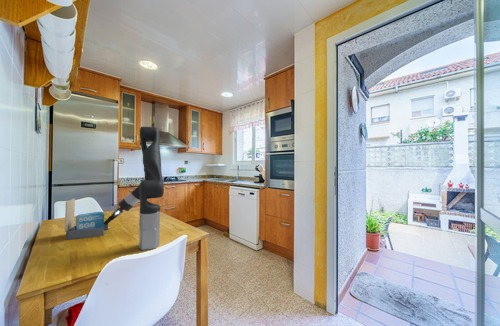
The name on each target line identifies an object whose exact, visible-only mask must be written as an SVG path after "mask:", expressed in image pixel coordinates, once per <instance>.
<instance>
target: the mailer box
mask: <svg viewBox="0 0 500 326" xmlns="http://www.w3.org/2000/svg"><path fill="white" fill-rule="evenodd" d="M75 201H76V198H72V199H69V200H66V201H65V214H64V215H65V216H64V217H65V219H64V220H65V221H64V224H65V225H64V232H66V233H65V241H69V240H77V239H85V238H92V237H94V238H95V237H101V236H104V235H105V232H104V231H109V223H108V224H107V225H105V224H104V227H102V228H92V229H83V230H76V225H75V209H76V208H75V207H76V206H75V205H76V204H75V203H76V202H75Z"/></svg>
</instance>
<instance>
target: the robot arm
mask: <svg viewBox="0 0 500 326" xmlns="http://www.w3.org/2000/svg"><path fill="white" fill-rule="evenodd" d="M139 140H140V147H141V152H142V165H143V172H144V180H141V181H140V183H139V185H138V186H136V188H134V189H133V190H132V191H131V192H130V193H129V194H127V195H125V196H124V197H123V198H122V200H121V199H120V201H119V202H118V204H117V205H118V206H119V207H116V209H115V210H114V211H113V212H112V213H111V214H110V215H109V216H108V218H107V219H105V220H104V224H105V225H107V224H108V225H109V224H110V222H111V221H113V220H114V219H116V218H117V217H119V216H120V215H122V214H123V212H124V211H125V212H128V211H130V210H131V209H133V207H135V206H136V204H138V202H139V229H138V235H139V236H138V249H140V250H141V251H147V250H151V249H154V250H155V249H157V247H159V245H160V243H161V241H160V240H161V235H160V234H161V206H160V205H159V204H157V203H153V202H150V201H148V199H159V198H162V197H163V196H164V191H165V189H164V188H165V186H164V180H163V173H162V156H161V149H160V148H161V147H160V146H161V145H160V140H161V139H160V130H159V128H158V127H155V126H140V128H139ZM147 142H152V143H151V144H150V145H149V146H148V144H147Z"/></svg>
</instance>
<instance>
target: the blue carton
mask: <svg viewBox="0 0 500 326" xmlns="http://www.w3.org/2000/svg"><path fill="white" fill-rule="evenodd" d="M75 219H76V220H75V226H76V230H83V229H92V228H102V227H104V222H105V214H104V213H103V212H102V211H94V212H86V213H80V214H77V215H76V218H75Z"/></svg>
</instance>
